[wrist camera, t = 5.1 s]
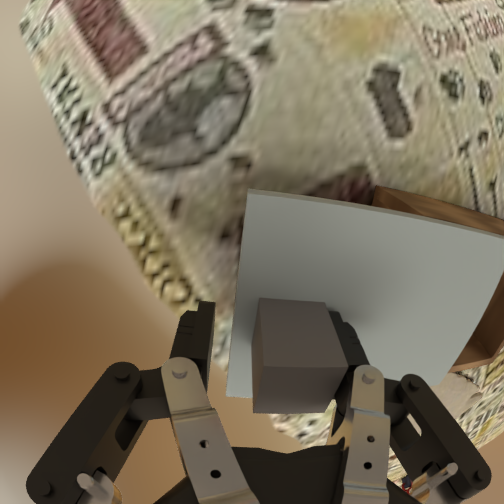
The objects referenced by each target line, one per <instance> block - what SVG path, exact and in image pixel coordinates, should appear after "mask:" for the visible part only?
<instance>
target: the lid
mask: <svg viewBox="0 0 504 504" xmlns="http://www.w3.org/2000/svg"><path fill="white" fill-rule="evenodd" d="M503 271H504V236H502V235H499V234H495V233H491V232H488V231H484V230H480V229H476V228H472V227H468V226H464V225H460V224H456V223H451V222H447V221H443V220H438V219H434V218H429V217H425V216H420V215H415V214H410V213H405V212H400V211H395V210H390V209H385V208H379V207H374V206H368V205H362V204H357V203H351V202H345V201H338V200H332V199H325V198H319V197H312V196H305V195H297V194H290V193H282V192H274V191H266V190H257V189H248V191H247V199H246V208H245V216H244V225H243V234H242V242H241V251H240V260H239V269H238V278H237V287H236V297H235V306H234V315H233V325H232V334H231V344H230V354H229V364H228V374H227V384H226V396H230V397H245V398H253V413H269V414H298V413H324V412H325V411H326V409H327V407H328V405H329V403H330V402H331V400H332V398H333V396H334V394H335V392H336V390H337V389H338V387H339V385H340V383H341V381H342V379H343V377H344V375H345V373H346V371H347V369H348V364H347V361H346V358H345V355H344V353H343V350H342V347H341V344H340V341H339V339H338V336H337V333H336V331H335V328H334V325H333V323H332V320H331V317H330V315H329V312H328V311H338V312H339V313H340V315H341V318H342V320H343V322H348V323H349V324H350V325H351V326H352V327H353V328H354V329H355V331H356V333H357V335H358V338H359V340H360V342H361V345H362V347H363V349H364V352H365V354H366V356H367V359H368V361H369V363H370V365H371V366H374V367H376V368H377V369H379V370H380V371H381V373H382V374H383V376H384V378H387V379H392V380H398V381H400V380H401V379H402V377H403V376H404V375H406V374H415V375H418V376H420V377H421V378H422V379H423V380H424V381H425V382H426V383H427V384H428V386H434V385H439V384H440V383H441V381H442V380H443V378H444V377H445V376H446V374H447V373H448V371H449V370H450V368H451V367H452V365H453V364H454V362H455V361H456V359H457V358H458V356H459V355H460V353H461V352H462V350H463V349H464V347H465V345H466V344H467V342H468V340H469V339H470V337H471V335H472V334H473V332H474V330H475V328H476V327H477V325H478V323H479V321H480V319H481V317H482V316H483V314H484V312H485V310H486V308H487V306H488V304H489V302H490V300H491V298H492V296H493V294H494V292H495V289H496V287H497V285H498V283H499V281H500V278H501V276H502V274H503Z"/></svg>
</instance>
